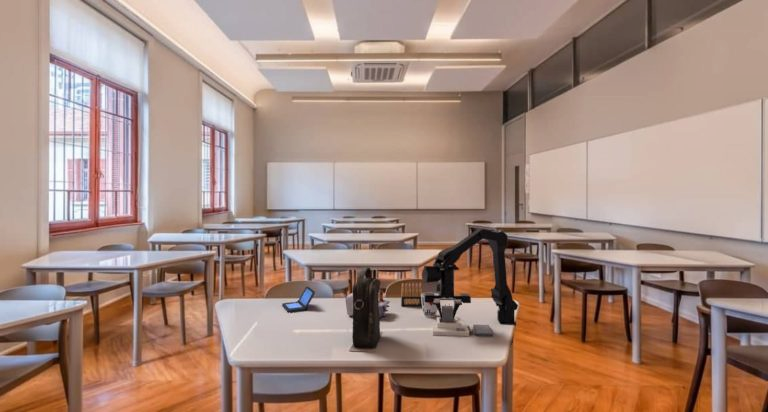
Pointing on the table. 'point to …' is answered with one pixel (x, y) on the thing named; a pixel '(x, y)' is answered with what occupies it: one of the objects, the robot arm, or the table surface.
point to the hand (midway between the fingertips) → (447, 318)
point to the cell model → (382, 305)
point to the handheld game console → (300, 301)
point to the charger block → (447, 314)
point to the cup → (428, 307)
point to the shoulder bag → (366, 312)
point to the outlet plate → (450, 328)
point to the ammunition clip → (411, 296)
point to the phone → (483, 330)
